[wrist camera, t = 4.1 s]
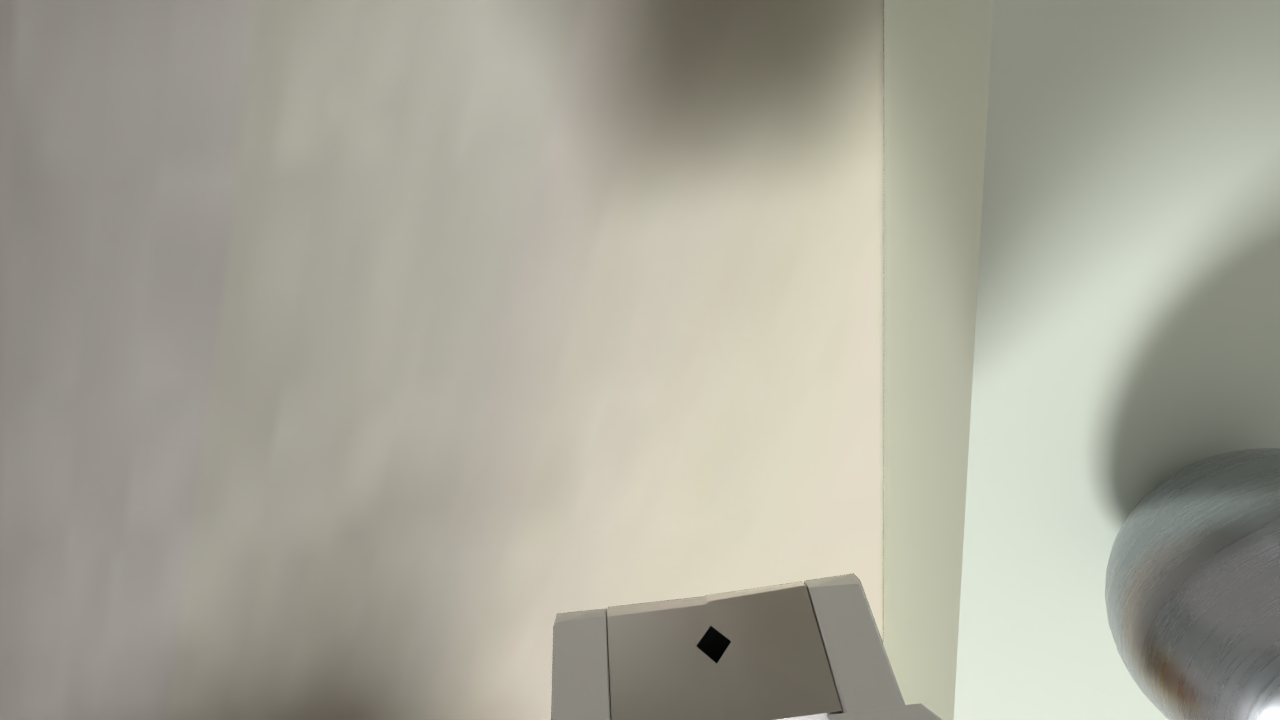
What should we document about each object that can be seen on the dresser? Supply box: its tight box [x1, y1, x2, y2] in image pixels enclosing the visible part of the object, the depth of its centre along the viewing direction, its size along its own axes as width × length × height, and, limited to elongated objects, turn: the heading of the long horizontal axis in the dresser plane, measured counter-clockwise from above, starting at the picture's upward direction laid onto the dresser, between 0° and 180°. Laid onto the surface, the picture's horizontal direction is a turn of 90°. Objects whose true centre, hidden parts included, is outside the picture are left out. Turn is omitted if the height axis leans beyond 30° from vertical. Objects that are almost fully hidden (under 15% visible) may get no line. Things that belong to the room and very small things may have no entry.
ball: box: [1105, 448, 1280, 720], centre depth 9 cm, size 3×3×3 cm
